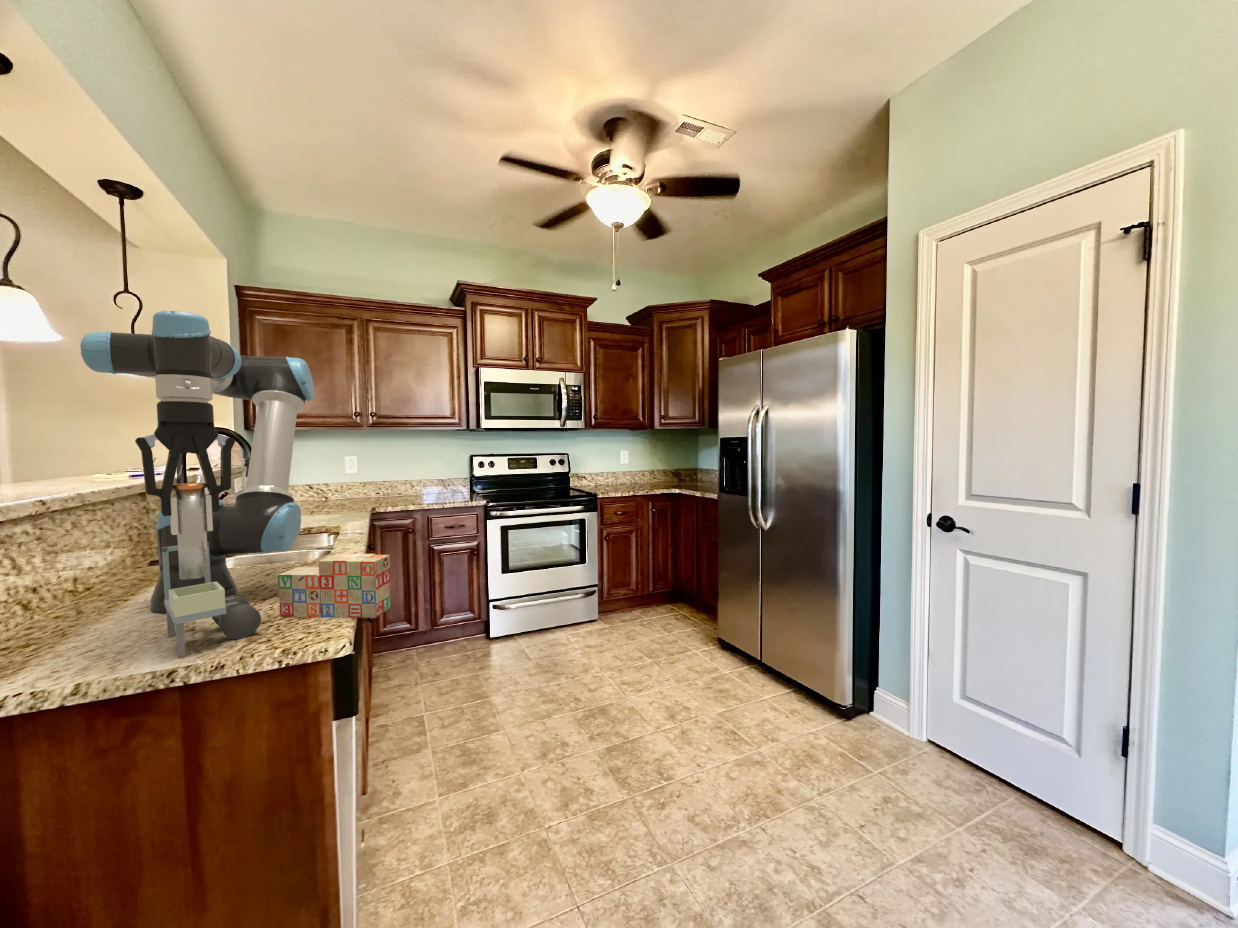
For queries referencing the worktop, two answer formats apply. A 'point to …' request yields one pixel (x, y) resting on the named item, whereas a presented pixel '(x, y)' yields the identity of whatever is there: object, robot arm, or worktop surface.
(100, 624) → the worktop surface
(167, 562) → the cart
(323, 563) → the stack of blocks
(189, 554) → the orange capped bottle
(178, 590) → the tray
